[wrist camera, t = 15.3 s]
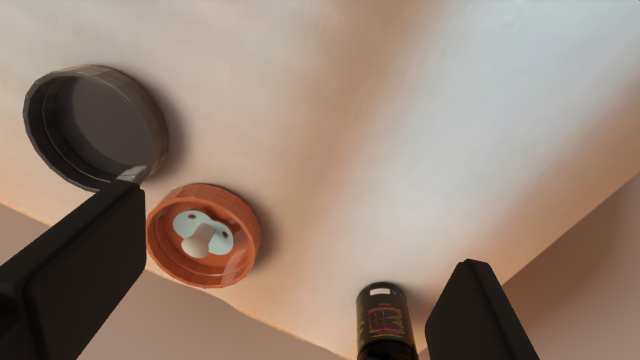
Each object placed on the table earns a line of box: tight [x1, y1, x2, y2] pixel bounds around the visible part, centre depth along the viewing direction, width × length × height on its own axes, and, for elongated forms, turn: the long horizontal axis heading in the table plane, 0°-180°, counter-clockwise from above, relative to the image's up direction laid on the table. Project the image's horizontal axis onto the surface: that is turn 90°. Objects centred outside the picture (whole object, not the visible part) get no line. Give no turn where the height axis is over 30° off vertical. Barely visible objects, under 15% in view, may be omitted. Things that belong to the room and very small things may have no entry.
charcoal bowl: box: [23, 65, 168, 193], centre depth 36 cm, size 13×13×4 cm
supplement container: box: [356, 283, 419, 360], centre depth 42 cm, size 7×7×10 cm
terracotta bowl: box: [146, 184, 262, 288], centre depth 41 cm, size 13×13×4 cm
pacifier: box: [173, 209, 234, 258], centre depth 40 cm, size 7×6×6 cm
